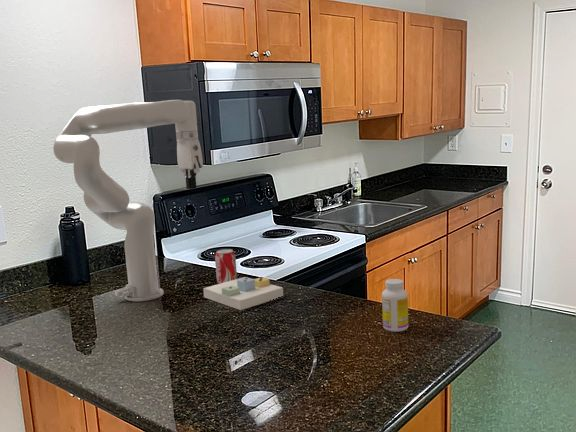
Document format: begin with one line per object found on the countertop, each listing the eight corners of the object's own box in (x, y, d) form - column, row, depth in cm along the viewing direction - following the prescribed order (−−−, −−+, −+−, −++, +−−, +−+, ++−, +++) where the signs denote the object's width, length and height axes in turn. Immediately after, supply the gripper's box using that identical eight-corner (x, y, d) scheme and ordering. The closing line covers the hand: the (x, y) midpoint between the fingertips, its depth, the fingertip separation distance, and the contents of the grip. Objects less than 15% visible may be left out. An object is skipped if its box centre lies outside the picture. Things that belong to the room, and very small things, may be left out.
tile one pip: (230, 303, 181) (229, 290, 181) (222, 300, 184) (221, 287, 184) (240, 300, 184) (239, 287, 183) (233, 297, 187) (232, 284, 186)
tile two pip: (245, 294, 185) (244, 281, 184) (237, 292, 188) (236, 279, 187) (255, 291, 187) (254, 279, 187) (247, 289, 190) (246, 276, 190)
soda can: (234, 287, 201) (231, 253, 199) (214, 287, 202) (211, 253, 200) (239, 281, 207) (237, 248, 205) (220, 281, 209) (218, 248, 207)
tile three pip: (260, 293, 189) (259, 281, 188) (252, 291, 192) (252, 279, 191) (270, 291, 192) (269, 278, 191) (262, 288, 195) (261, 276, 194)
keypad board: (240, 310, 177) (239, 300, 176) (204, 297, 192) (203, 288, 191) (283, 296, 187) (282, 287, 187) (245, 285, 202) (245, 276, 202)
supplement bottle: (410, 324, 157) (409, 278, 155) (406, 333, 151) (405, 285, 149) (385, 322, 160) (383, 277, 157) (380, 331, 154) (379, 284, 151)
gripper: (207, 135, 203) (212, 188, 206) (185, 136, 214) (189, 186, 217) (189, 137, 198) (193, 191, 201) (167, 137, 209) (171, 188, 212)
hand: (191, 188), depth 209 cm, fingers closed
